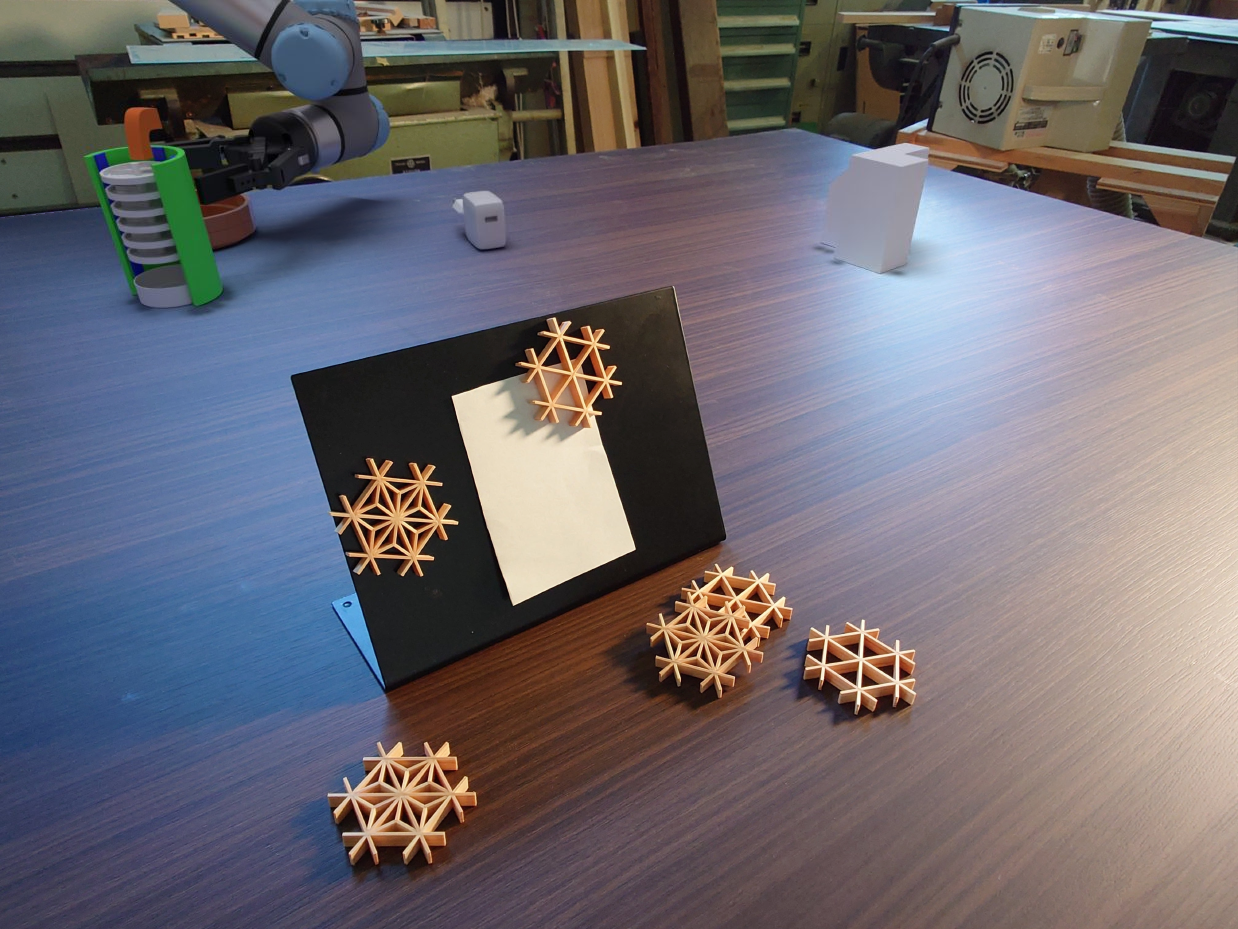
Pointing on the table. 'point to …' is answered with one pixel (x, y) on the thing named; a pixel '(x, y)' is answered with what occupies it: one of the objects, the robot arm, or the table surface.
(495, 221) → the power adapter
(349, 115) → the robot arm
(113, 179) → the green-shelled ribbed roller
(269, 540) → the table surface
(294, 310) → the table surface
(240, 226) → the bowl
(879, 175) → the white notched block
